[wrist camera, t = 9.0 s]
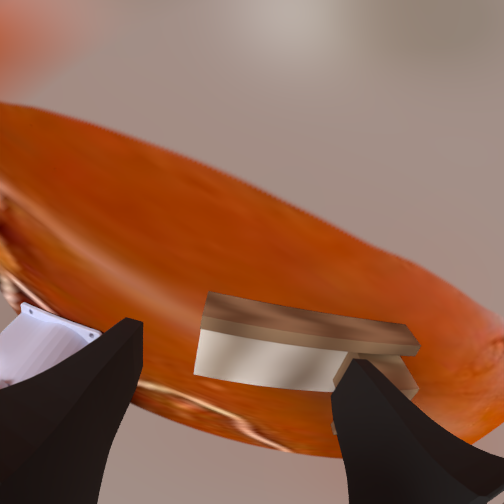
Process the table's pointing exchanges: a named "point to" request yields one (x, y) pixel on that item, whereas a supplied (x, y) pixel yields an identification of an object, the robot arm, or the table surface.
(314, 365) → the board
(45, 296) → the table surface
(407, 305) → the table surface
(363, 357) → the block
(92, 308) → the table surface
